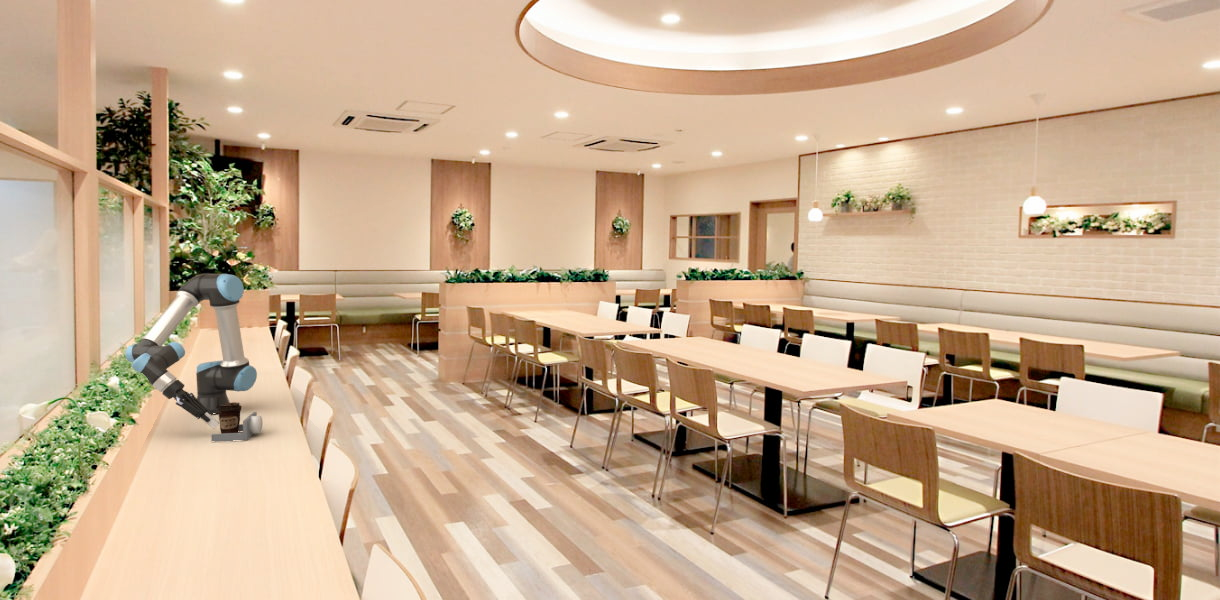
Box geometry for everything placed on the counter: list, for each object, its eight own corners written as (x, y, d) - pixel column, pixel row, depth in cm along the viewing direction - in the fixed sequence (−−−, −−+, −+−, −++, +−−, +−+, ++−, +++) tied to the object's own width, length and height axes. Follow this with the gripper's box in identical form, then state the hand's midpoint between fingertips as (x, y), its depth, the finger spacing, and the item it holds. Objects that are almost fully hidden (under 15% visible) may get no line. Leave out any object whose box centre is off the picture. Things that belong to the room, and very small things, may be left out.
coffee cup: (240, 437, 287) (240, 405, 286) (217, 439, 284) (216, 406, 283) (242, 432, 295) (242, 401, 294) (219, 433, 292) (219, 402, 291)
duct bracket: (223, 432, 295) (223, 413, 294) (265, 430, 298) (264, 411, 298) (211, 442, 280) (210, 422, 279) (255, 440, 283) (255, 420, 283)
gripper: (168, 389, 288) (214, 428, 293) (155, 396, 275) (203, 436, 280) (182, 376, 289) (228, 415, 293) (170, 382, 276) (218, 423, 281)
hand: (216, 425), depth 287 cm, fingers closed
